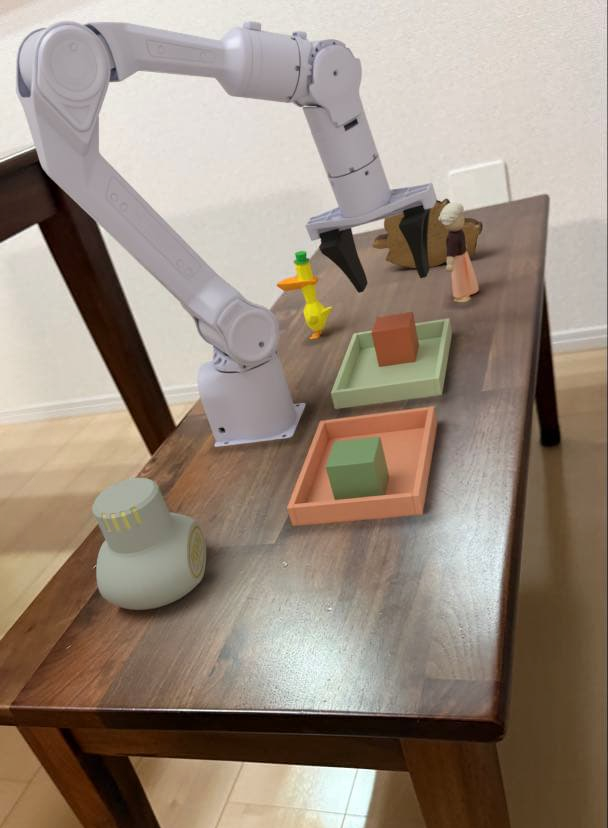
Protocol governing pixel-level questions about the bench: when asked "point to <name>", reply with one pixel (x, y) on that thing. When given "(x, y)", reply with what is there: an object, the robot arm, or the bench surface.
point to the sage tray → (393, 369)
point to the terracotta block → (395, 339)
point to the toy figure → (307, 293)
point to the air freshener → (145, 547)
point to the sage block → (357, 468)
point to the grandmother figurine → (458, 253)
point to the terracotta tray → (405, 457)
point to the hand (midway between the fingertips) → (393, 281)
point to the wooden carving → (435, 239)
